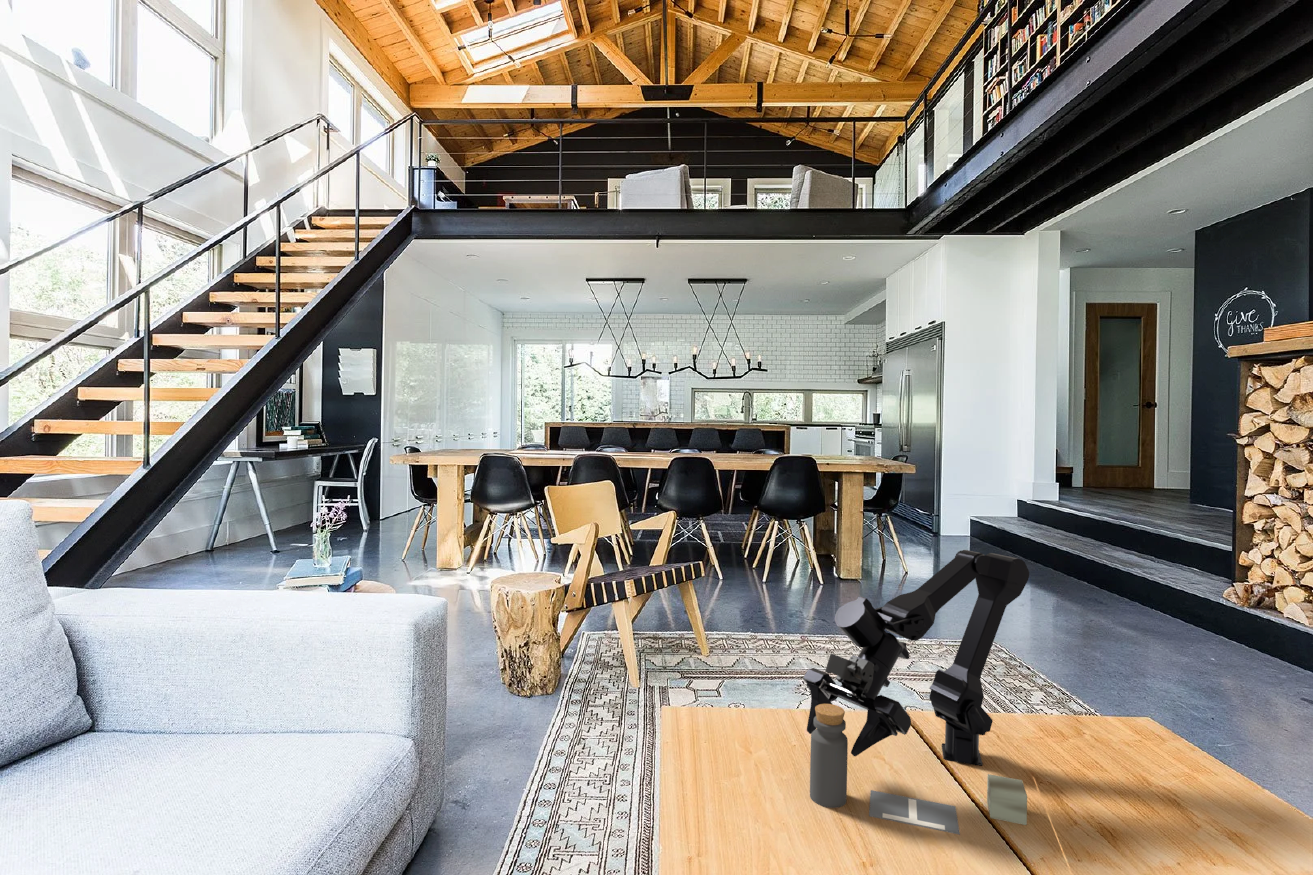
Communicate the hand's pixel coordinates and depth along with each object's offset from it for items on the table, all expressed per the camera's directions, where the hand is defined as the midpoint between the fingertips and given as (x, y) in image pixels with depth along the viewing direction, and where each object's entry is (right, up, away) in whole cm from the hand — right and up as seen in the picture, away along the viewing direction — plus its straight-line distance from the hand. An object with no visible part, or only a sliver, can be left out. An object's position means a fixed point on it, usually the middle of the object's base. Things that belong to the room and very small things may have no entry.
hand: (829, 743), depth 109 cm
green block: (+27, -10, -4) cm, 29 cm away
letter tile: (+12, -10, -4) cm, 16 cm away
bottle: (0, -10, 0) cm, 10 cm away
